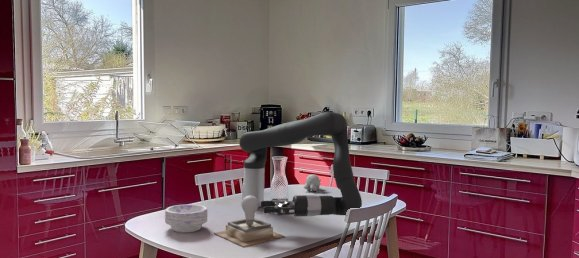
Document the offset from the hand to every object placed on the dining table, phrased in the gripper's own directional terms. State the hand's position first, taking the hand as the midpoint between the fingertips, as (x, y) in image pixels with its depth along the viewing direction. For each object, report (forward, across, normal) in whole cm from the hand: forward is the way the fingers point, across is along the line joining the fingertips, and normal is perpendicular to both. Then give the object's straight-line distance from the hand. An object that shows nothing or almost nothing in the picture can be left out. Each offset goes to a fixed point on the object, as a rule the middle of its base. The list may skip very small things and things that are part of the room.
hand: (262, 206), depth 169 cm
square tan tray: (+4, 0, +10) cm, 11 cm away
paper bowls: (+27, -10, +10) cm, 30 cm away
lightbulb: (+4, 0, +7) cm, 8 cm away
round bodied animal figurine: (-36, -72, +10) cm, 81 cm away
